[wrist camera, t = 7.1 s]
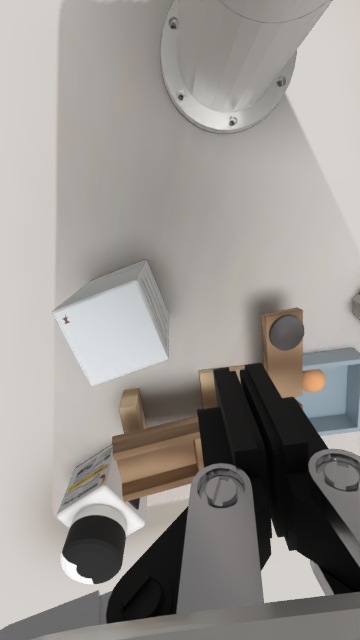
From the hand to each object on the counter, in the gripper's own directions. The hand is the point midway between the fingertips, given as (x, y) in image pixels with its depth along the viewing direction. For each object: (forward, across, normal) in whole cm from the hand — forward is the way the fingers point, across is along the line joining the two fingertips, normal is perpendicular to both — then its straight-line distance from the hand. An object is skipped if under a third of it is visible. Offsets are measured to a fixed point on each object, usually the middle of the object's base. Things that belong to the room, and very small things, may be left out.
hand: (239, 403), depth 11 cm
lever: (+19, +1, +13) cm, 23 cm away
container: (+26, +15, +27) cm, 41 cm away
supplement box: (+27, +8, +2) cm, 28 cm away
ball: (+25, -13, +15) cm, 32 cm away
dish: (+27, -13, +18) cm, 35 cm away
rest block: (+26, +10, +17) cm, 33 cm away
